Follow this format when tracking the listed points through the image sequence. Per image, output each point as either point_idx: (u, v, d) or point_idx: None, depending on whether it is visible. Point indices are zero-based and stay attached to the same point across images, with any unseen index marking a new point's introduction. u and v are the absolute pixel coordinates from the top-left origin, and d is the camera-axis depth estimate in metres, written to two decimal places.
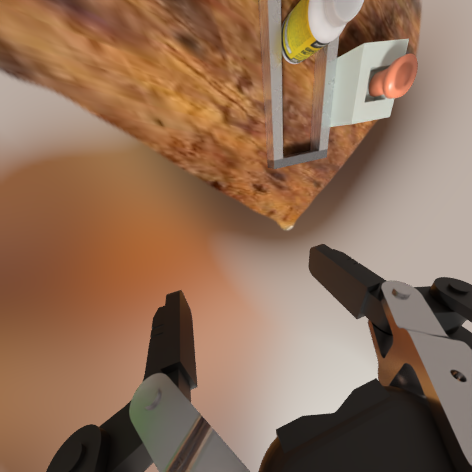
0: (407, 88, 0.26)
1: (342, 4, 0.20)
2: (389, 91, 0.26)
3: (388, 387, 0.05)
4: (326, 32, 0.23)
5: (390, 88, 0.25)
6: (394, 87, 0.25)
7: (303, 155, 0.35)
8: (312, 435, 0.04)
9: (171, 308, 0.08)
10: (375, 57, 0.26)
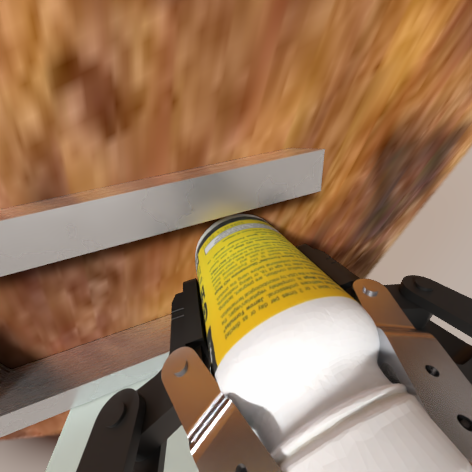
0: None
1: None
2: None
3: None
4: None
5: None
6: None
7: None
8: None
9: (189, 293, 0.08)
10: None
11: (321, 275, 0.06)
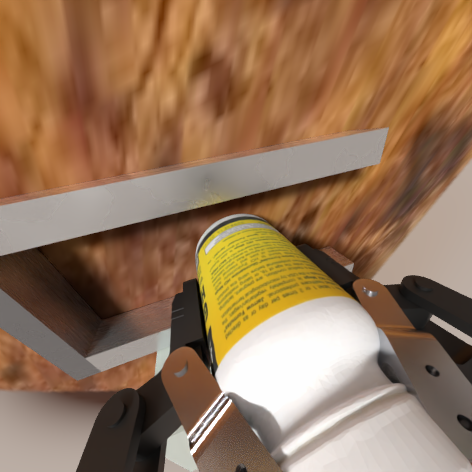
0: None
1: None
2: None
3: None
4: None
5: None
6: None
7: (41, 327, 0.10)
8: None
9: (189, 293, 0.08)
10: None
11: (321, 275, 0.06)
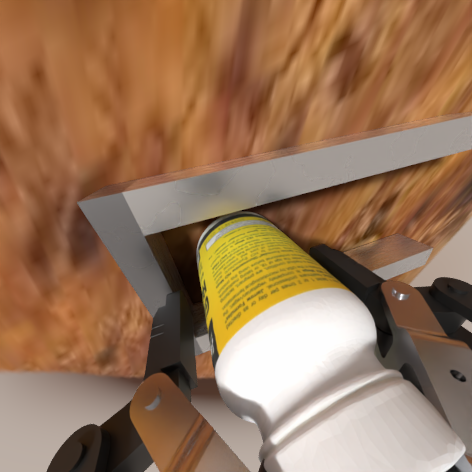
0: None
1: None
2: None
3: None
4: (240, 401, 0.05)
5: None
6: None
7: None
8: None
9: (171, 308, 0.08)
10: None
11: (319, 269, 0.07)
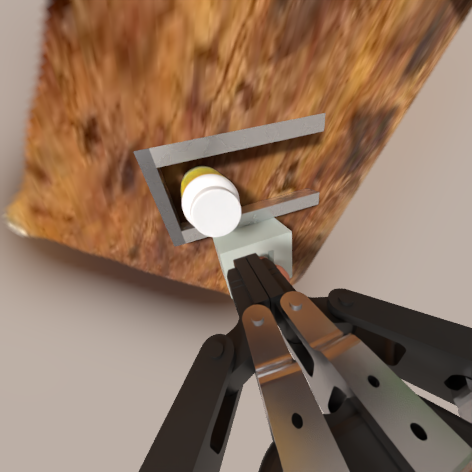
0: None
1: (204, 209, 0.15)
2: None
3: (341, 437, 0.04)
4: (187, 204, 0.17)
5: None
6: None
7: (169, 206, 0.22)
8: (312, 435, 0.04)
9: (243, 267, 0.09)
10: (280, 250, 0.24)
11: (220, 174, 0.18)
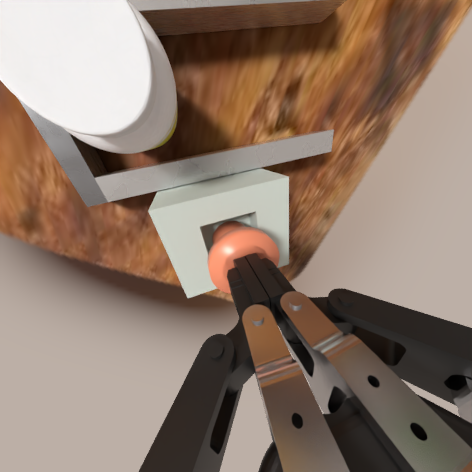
0: (228, 289, 0.12)
1: (8, 9, 0.05)
2: (218, 249, 0.10)
3: (341, 437, 0.04)
4: None
5: (223, 247, 0.10)
6: (226, 257, 0.10)
7: None
8: (312, 435, 0.04)
9: (243, 267, 0.09)
10: (269, 214, 0.14)
11: None
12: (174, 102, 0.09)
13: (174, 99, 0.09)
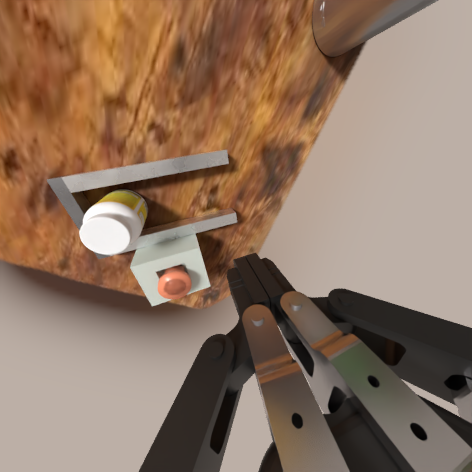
0: (167, 297, 0.26)
1: (91, 232, 0.18)
2: (160, 280, 0.25)
3: (341, 437, 0.04)
4: None
5: (162, 280, 0.24)
6: (164, 283, 0.25)
7: None
8: (312, 435, 0.04)
9: (243, 267, 0.09)
10: (192, 263, 0.27)
11: (122, 201, 0.22)
12: (140, 229, 0.22)
13: (140, 228, 0.22)
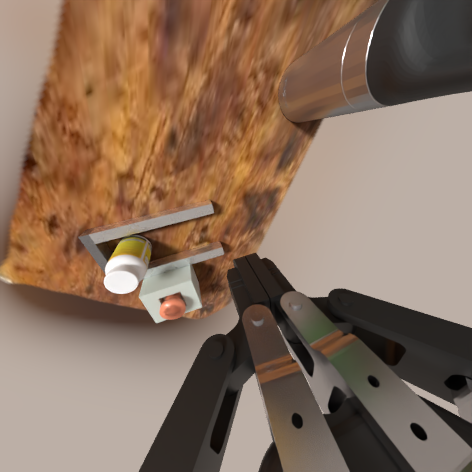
0: (167, 318, 0.34)
1: (111, 281, 0.26)
2: (161, 307, 0.32)
3: (341, 437, 0.04)
4: (107, 274, 0.28)
5: (163, 306, 0.32)
6: (164, 309, 0.33)
7: None
8: (312, 435, 0.04)
9: (243, 267, 0.09)
10: (186, 291, 0.35)
11: (132, 251, 0.29)
12: (145, 271, 0.30)
13: (145, 271, 0.30)
